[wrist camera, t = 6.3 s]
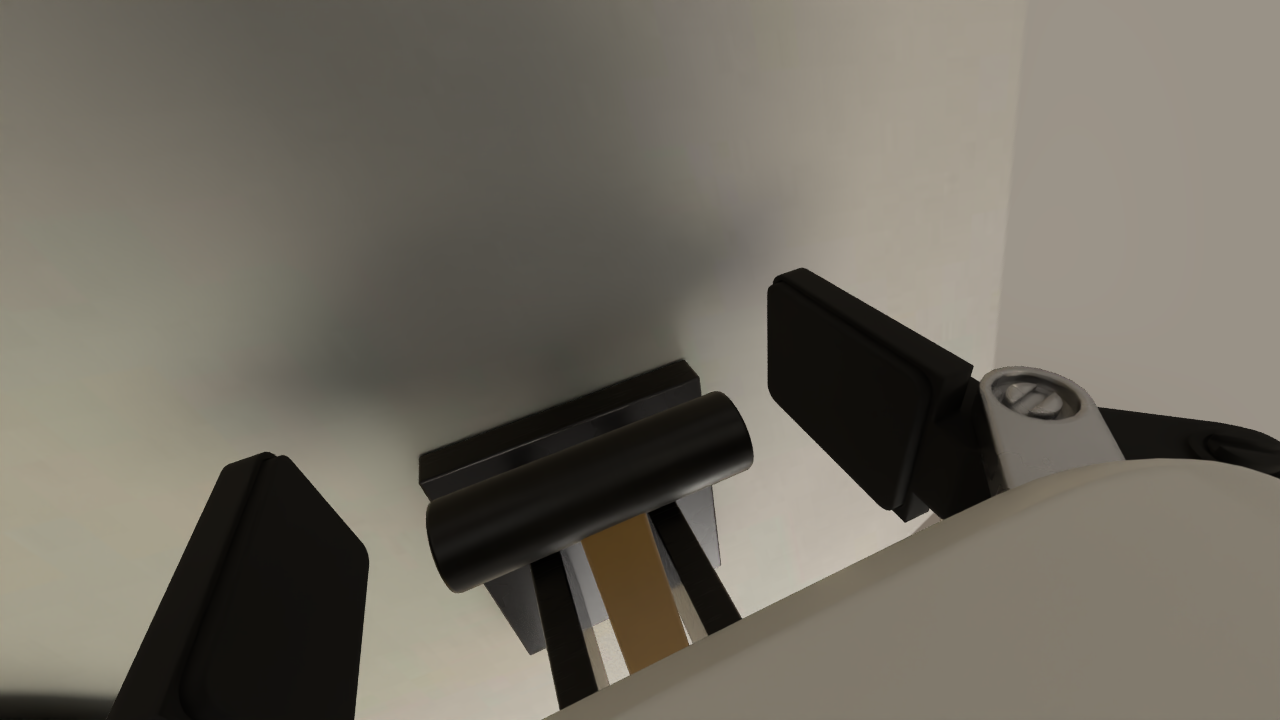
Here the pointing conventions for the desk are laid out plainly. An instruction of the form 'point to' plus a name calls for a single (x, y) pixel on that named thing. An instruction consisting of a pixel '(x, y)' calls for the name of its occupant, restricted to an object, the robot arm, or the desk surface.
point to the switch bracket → (563, 582)
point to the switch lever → (597, 515)
